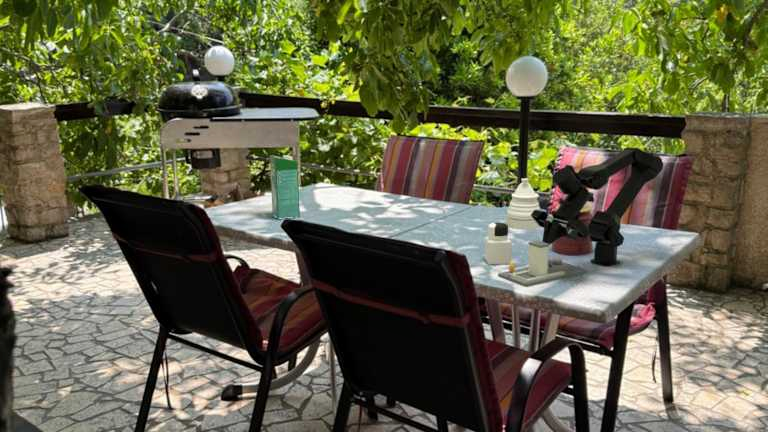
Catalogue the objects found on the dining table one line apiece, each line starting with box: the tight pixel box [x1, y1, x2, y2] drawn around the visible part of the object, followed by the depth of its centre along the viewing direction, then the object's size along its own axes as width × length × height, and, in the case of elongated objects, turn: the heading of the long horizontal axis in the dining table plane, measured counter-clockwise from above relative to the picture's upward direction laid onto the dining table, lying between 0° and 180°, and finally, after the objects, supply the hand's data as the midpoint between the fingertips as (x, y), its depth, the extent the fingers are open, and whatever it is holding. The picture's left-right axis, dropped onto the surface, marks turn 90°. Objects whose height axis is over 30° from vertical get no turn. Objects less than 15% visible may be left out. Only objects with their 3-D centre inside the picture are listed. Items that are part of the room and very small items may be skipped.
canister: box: [551, 203, 595, 256], centre depth 237 cm, size 13×13×18 cm
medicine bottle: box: [484, 222, 513, 265], centre depth 227 cm, size 7×7×12 cm
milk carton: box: [269, 154, 301, 220], centre depth 292 cm, size 9×9×25 cm
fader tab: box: [528, 240, 550, 277], centre depth 209 cm, size 3×5×10 cm
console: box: [497, 257, 589, 288], centre depth 214 cm, size 24×12×4 cm, turn 122°
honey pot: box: [505, 178, 541, 231], centre depth 272 cm, size 13×13×18 cm
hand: (543, 246), depth 210 cm, fingers closed, pressing on fader tab
